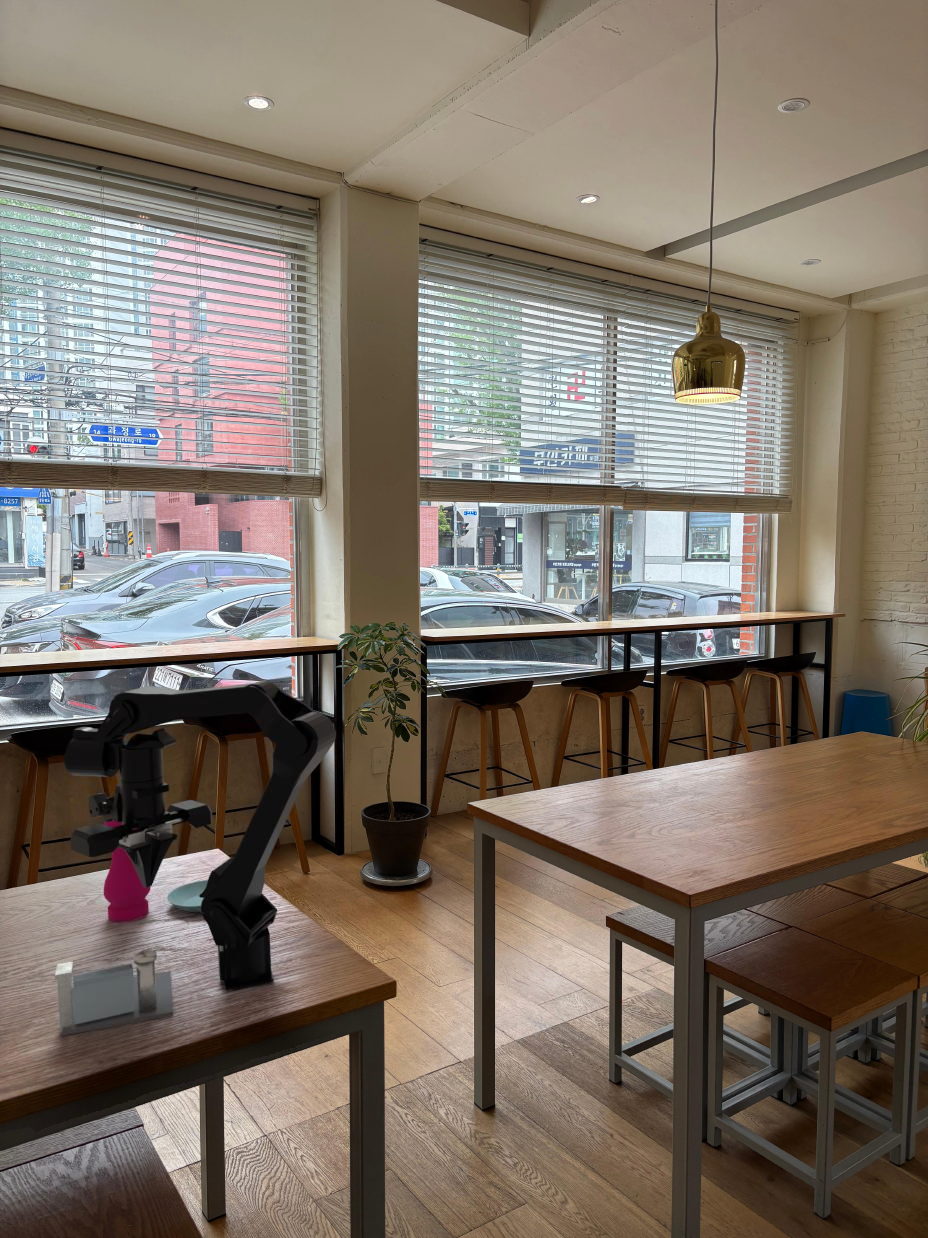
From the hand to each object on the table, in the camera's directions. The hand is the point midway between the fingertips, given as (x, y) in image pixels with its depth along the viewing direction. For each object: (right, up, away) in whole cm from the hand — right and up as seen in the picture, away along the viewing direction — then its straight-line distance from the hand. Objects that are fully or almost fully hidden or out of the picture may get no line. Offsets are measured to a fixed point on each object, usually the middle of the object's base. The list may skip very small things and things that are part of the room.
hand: (147, 886), depth 126 cm
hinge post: (+4, -13, -11) cm, 18 cm away
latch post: (-5, -13, -15) cm, 20 cm away
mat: (0, -13, -9) cm, 15 cm away
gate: (0, -12, -14) cm, 18 cm away
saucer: (+1, -11, +24) cm, 27 cm away
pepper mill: (-10, -11, +20) cm, 25 cm away
